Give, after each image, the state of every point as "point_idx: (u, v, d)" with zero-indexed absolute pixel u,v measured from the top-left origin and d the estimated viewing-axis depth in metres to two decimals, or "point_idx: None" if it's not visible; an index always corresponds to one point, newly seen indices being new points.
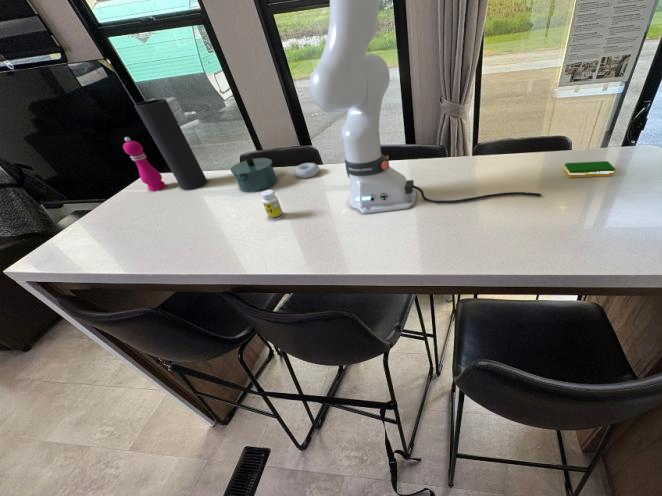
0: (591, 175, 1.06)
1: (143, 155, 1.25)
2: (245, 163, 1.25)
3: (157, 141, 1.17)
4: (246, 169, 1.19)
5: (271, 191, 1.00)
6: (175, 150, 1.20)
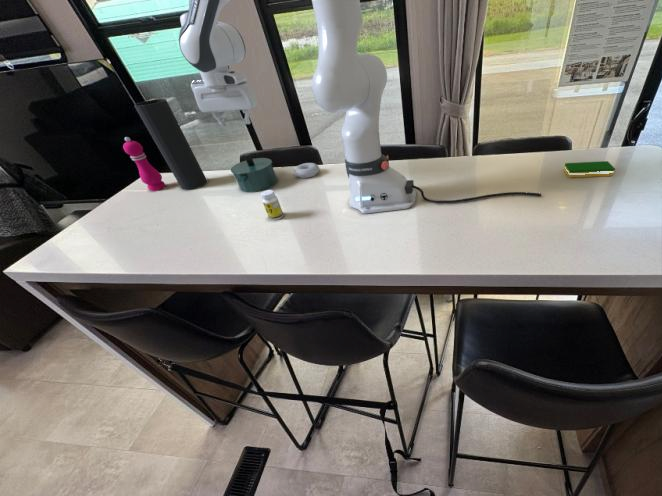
0: (591, 175, 1.06)
1: (143, 155, 1.25)
2: (245, 163, 1.25)
3: (157, 141, 1.17)
4: (246, 169, 1.19)
5: (271, 191, 1.00)
6: (175, 150, 1.20)
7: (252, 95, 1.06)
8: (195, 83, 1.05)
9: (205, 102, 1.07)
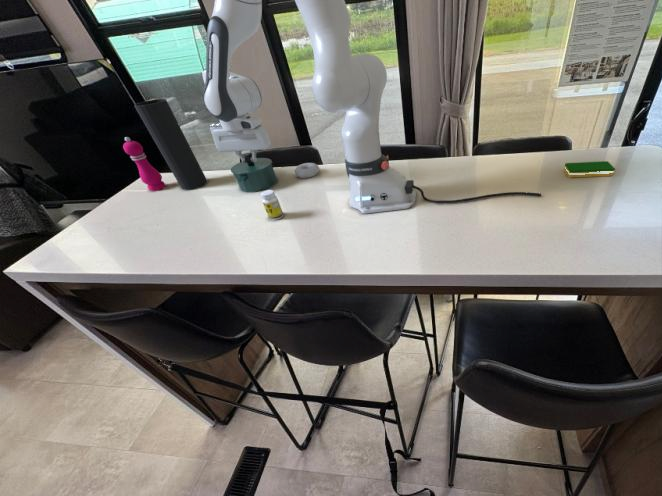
0: (591, 175, 1.06)
1: (143, 155, 1.25)
2: (245, 163, 1.25)
3: (157, 141, 1.17)
4: (246, 169, 1.19)
5: (271, 191, 1.00)
6: (175, 150, 1.20)
7: (266, 137, 1.15)
8: (214, 126, 1.14)
9: (222, 143, 1.16)
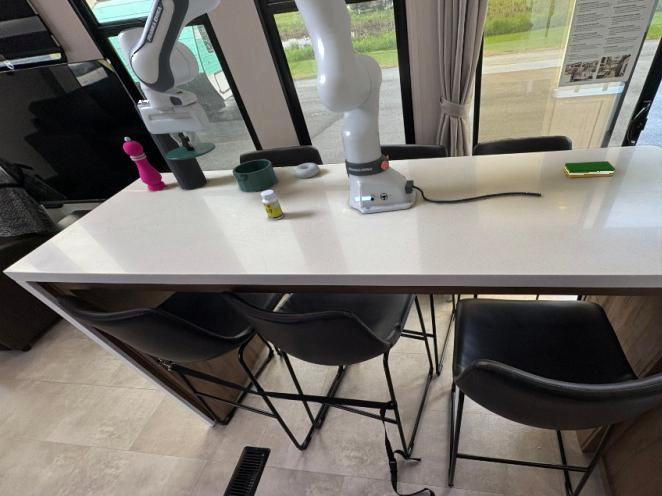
0: (591, 175, 1.06)
1: (143, 155, 1.25)
2: (185, 148, 1.09)
3: (157, 141, 1.17)
4: (183, 154, 1.04)
5: (271, 191, 1.00)
6: None
7: (203, 116, 0.99)
8: (142, 104, 0.98)
9: (154, 123, 1.00)
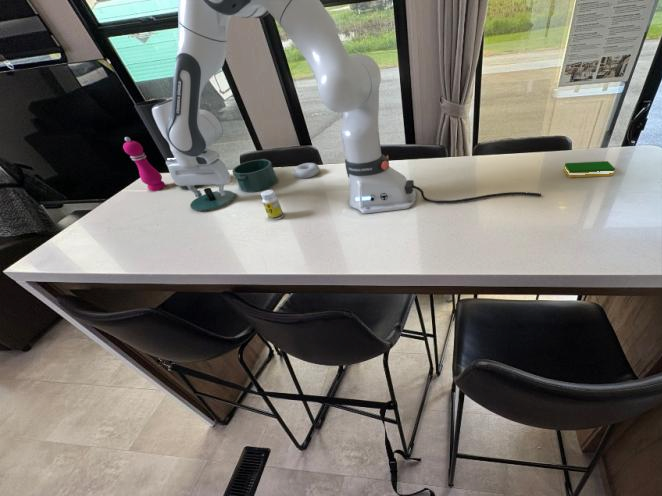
0: (591, 175, 1.06)
1: (143, 155, 1.25)
2: (207, 197, 1.20)
3: (157, 141, 1.17)
4: (206, 204, 1.15)
5: (271, 191, 1.00)
6: None
7: (225, 171, 1.10)
8: (170, 161, 1.09)
9: (180, 177, 1.11)
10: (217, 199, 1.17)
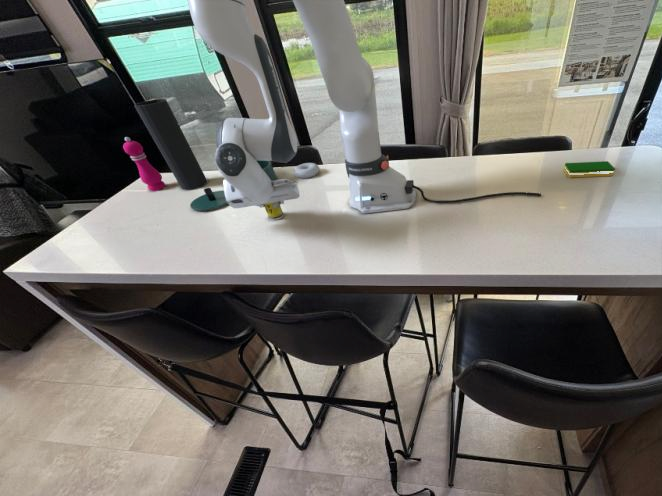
0: (591, 175, 1.06)
1: (143, 155, 1.25)
2: (207, 197, 1.20)
3: (157, 141, 1.17)
4: (206, 204, 1.15)
5: None
6: (175, 150, 1.20)
7: None
8: None
9: None
10: (217, 199, 1.17)
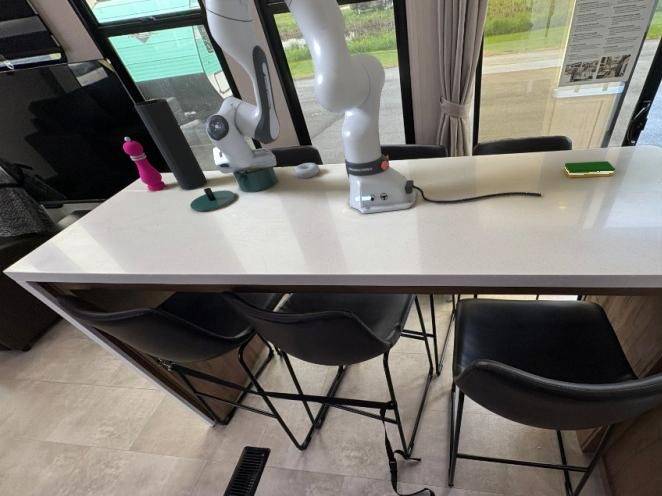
0: (591, 175, 1.06)
1: (143, 155, 1.25)
2: (207, 197, 1.20)
3: (157, 141, 1.17)
4: (206, 204, 1.15)
5: None
6: (175, 150, 1.20)
7: None
8: None
9: None
10: (217, 199, 1.17)
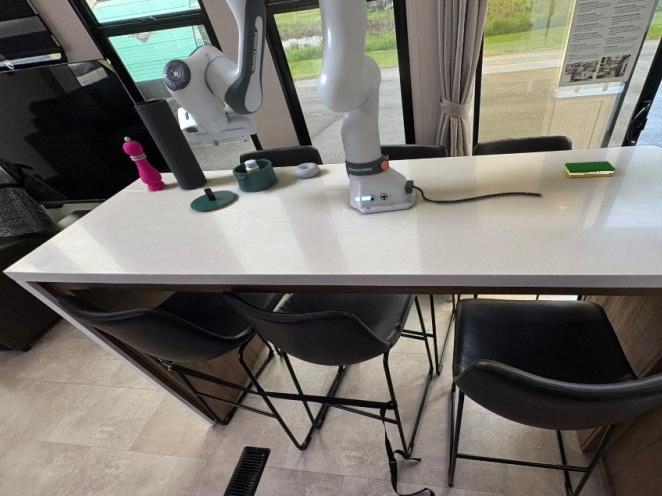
0: (591, 175, 1.06)
1: (143, 155, 1.25)
2: (207, 197, 1.20)
3: (157, 141, 1.17)
4: (206, 204, 1.15)
5: (253, 160, 1.22)
6: (175, 150, 1.20)
7: None
8: None
9: None
10: (217, 199, 1.17)
